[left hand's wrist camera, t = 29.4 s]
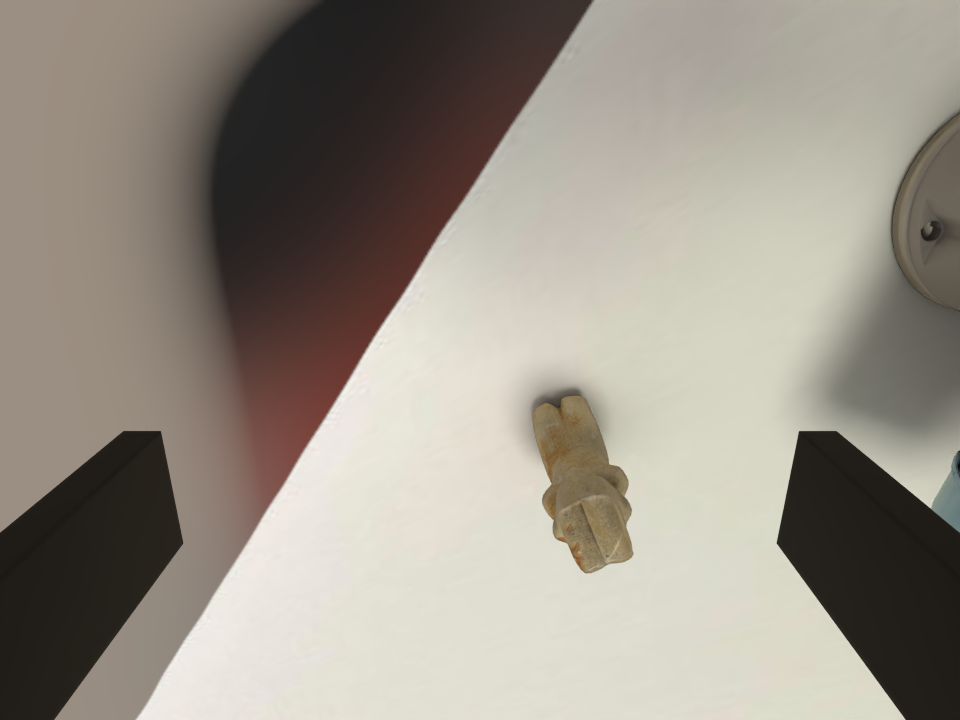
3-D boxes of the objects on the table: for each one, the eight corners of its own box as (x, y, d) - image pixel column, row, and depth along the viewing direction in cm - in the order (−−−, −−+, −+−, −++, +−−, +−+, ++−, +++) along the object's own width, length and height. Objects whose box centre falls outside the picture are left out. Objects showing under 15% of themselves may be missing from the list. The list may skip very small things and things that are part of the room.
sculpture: (592, 382, 47) (639, 486, 33) (613, 460, 50) (665, 588, 36) (520, 403, 48) (536, 513, 34) (543, 479, 50) (568, 611, 36)
